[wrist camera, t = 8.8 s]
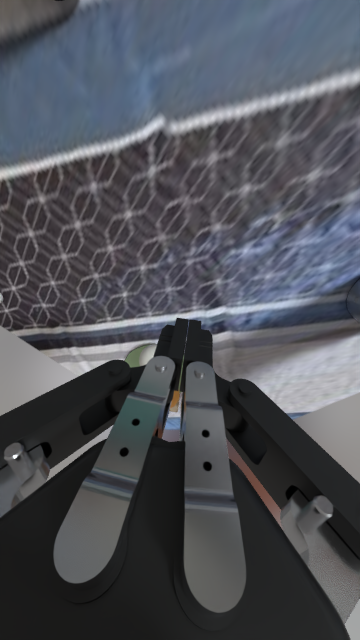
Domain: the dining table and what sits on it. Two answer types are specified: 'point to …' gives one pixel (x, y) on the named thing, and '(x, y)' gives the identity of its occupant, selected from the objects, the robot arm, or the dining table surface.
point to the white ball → (147, 354)
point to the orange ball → (175, 398)
